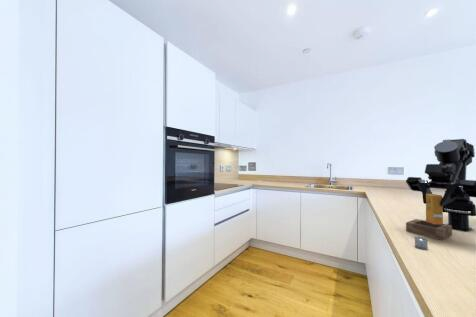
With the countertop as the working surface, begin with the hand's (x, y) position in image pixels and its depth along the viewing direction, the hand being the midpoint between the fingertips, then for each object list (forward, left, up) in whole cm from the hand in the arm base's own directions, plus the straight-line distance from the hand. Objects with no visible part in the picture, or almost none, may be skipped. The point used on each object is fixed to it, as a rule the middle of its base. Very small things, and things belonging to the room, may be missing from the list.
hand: (432, 204), depth 67 cm
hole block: (-11, -4, -13) cm, 18 cm away
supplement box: (-1, 0, -7) cm, 7 cm away
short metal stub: (+9, -1, -13) cm, 16 cm away
